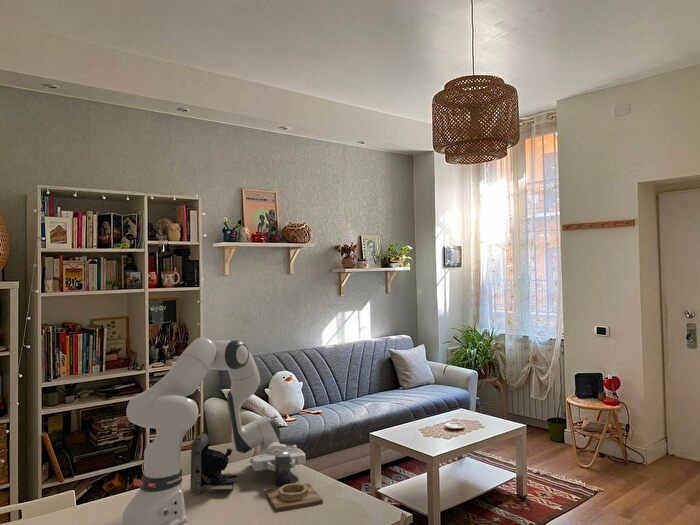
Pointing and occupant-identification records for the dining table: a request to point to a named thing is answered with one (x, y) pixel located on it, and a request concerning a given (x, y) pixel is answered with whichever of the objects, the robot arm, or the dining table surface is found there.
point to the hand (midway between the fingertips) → (283, 467)
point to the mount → (293, 496)
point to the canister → (282, 467)
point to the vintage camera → (208, 466)
